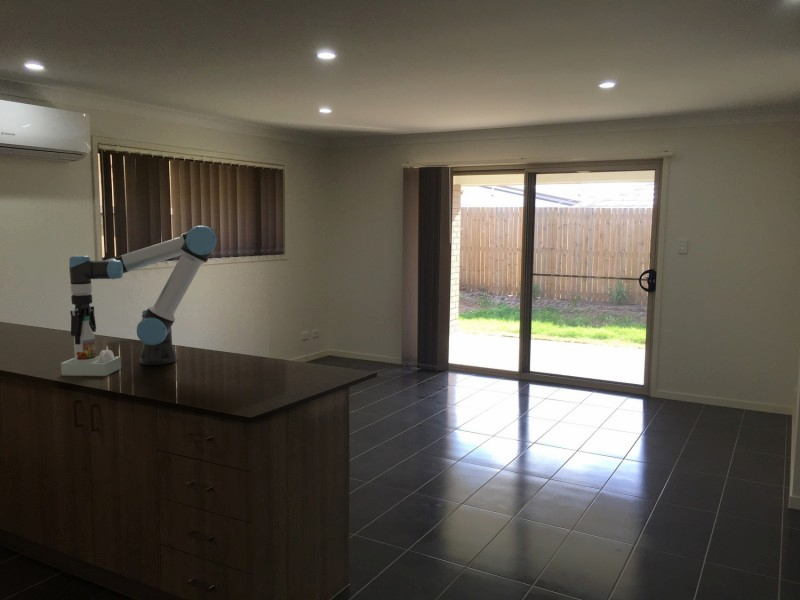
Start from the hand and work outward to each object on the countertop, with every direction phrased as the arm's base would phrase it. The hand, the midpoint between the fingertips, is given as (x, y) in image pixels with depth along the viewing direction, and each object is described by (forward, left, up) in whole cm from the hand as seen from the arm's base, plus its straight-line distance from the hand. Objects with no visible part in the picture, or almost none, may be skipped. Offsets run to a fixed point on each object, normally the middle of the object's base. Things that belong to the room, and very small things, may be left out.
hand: (85, 349), depth 264 cm
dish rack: (0, +2, -9) cm, 9 cm away
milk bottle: (0, 0, -6) cm, 6 cm away
